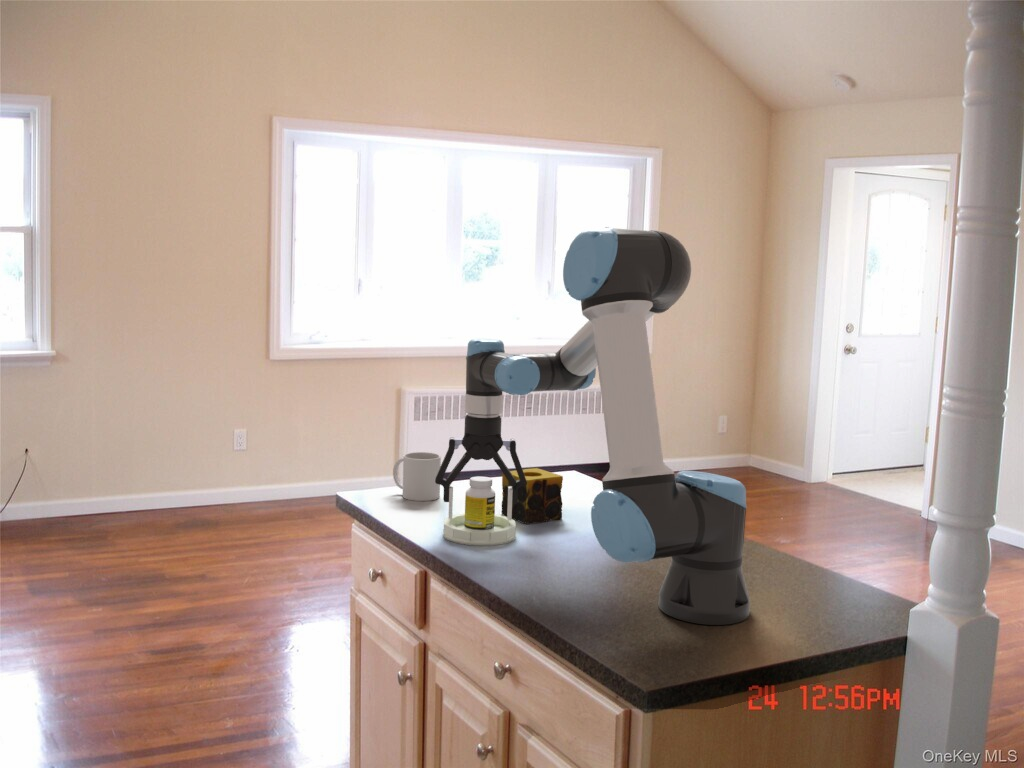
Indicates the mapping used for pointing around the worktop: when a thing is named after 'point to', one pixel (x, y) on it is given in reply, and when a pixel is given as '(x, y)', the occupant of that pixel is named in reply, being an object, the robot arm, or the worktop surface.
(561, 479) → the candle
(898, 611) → the worktop surface
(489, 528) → the pill bottle
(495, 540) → the sage dish
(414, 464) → the mug
